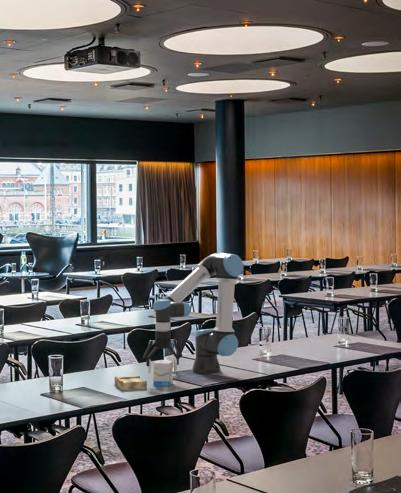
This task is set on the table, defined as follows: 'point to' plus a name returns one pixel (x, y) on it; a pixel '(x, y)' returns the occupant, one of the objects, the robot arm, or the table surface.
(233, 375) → the table surface
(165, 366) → the ink box
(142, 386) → the dock
